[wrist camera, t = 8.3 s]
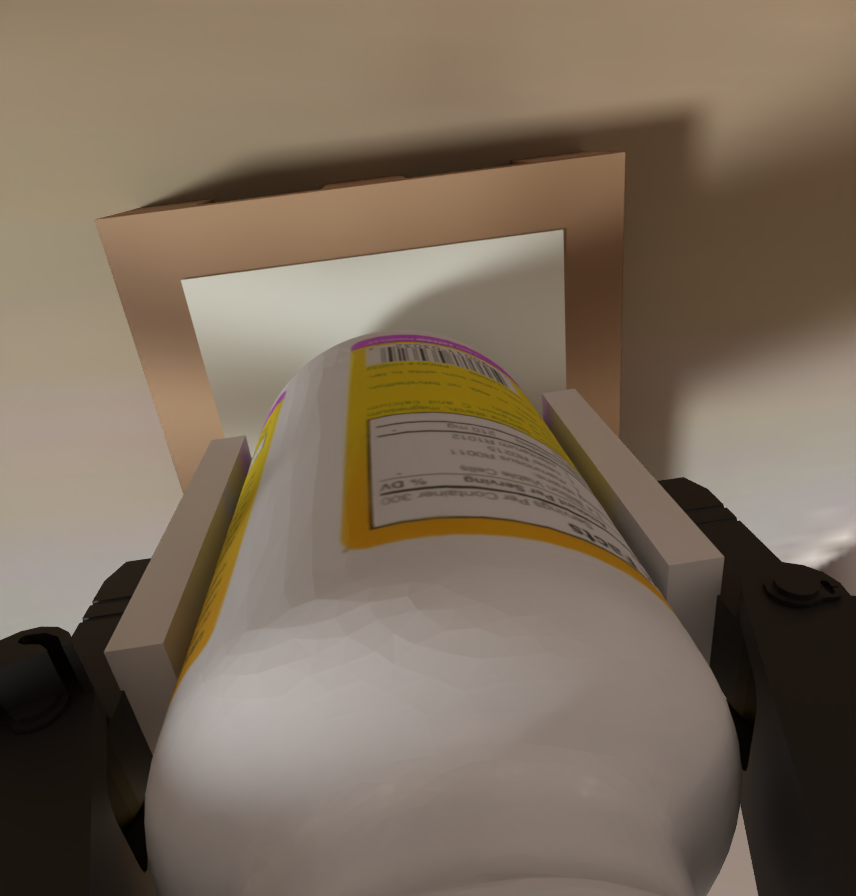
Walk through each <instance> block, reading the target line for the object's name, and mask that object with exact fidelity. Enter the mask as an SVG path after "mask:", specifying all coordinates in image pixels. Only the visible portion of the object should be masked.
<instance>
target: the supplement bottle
mask: <svg viewBox="0 0 856 896" xmlns="http://www.w3.org/2000/svg"><path fill="white" fill-rule="evenodd" d="M741 785H742V773H741V759H740V749H739V741H738V737H737V733H736V729H735V725H734V722H733V719H732V716H731V713H730V710H729V707H728V704H727V701H726V699H725V697H724V695H723V693H722V690H721V688H720V686H719V684H718V682H717V680H716V678H715V676H714V674H713V672H712V670H711V668H710V667H709V665H708V664H707V662H706V660H705V659H704V657H703V655H702V654H701V652H700V651H699V649H698V648H697V646H696V645H695V643H694V642H693V640H692V638H691V637H690V635H689V634H688V632H687V631H686V629H685V628H684V626H683V625H682V623H681V622H680V620H679V619H678V617H677V616H676V614H675V613H674V611H673V609H672V608H671V606H670V605H669V604H668V602H667V601H666V599H665V598H664V597H663V595H662V594H661V592H660V591H659V589H658V588H657V587H656V585H655V584H654V582H653V581H652V580H651V578H650V577H649V575H648V573H647V572H646V570H645V569H644V568H643V566H642V565H641V564H640V562H639V561H638V559H637V558H636V556H635V555H634V553H633V552H632V551H631V549H630V548H629V546H628V545H627V543H626V542H625V540H624V539H623V537H622V536H621V534H620V533H619V531H618V530H617V528H616V527H615V526H614V524H613V523H612V521H611V519H610V518H609V516H608V515H607V513H606V512H605V510H604V509H603V507H602V506H601V504H600V503H599V501H598V500H597V499H596V497H595V496H594V494H593V493H592V491H591V489H590V488H589V486H588V485H587V483H586V482H585V480H584V479H583V478H582V476H581V475H580V473H579V472H578V470H577V469H576V467H575V466H574V464H573V463H572V461H571V460H570V458H569V457H568V456H567V454H566V453H565V451H564V450H563V448H562V447H561V445H560V444H559V442H558V441H557V439H556V438H555V436H554V435H553V433H552V432H551V430H550V429H549V428H548V426H547V425H546V423H545V422H544V420H543V419H542V417H541V416H540V414H539V413H538V412H537V410H536V409H535V407H534V406H533V404H532V403H531V402H530V400H529V399H528V398H527V396H526V395H525V393H524V392H523V391H522V389H521V388H520V387H519V385H518V384H517V383H516V382H515V381H514V380H513V379H512V378H511V377H510V376H509V375H508V374H507V372H506V371H505V370H504V369H503V368H501V367H500V366H499V365H498V364H497V363H496V362H494V361H493V360H492V359H491V358H489V357H488V356H486V355H485V354H483V353H482V352H480V351H479V350H477V349H475V348H473V347H471V346H470V345H468V344H466V343H463V342H461V341H459V340H456V339H453V338H450V337H447V336H444V335H440V334H436V333H431V332H424V331H414V330H390V331H381V332H375V333H370V334H366V335H362V336H358V337H355V338H352V339H349V340H347V341H344V342H342V343H339V344H337V345H335V346H333V347H331V348H329V349H328V350H326V351H324V352H323V353H321V354H319V355H318V356H316V357H315V358H314V359H312V360H311V361H310V362H308V363H307V364H306V365H305V366H304V367H303V368H301V369H300V370H299V371H298V372H297V373H296V374H295V376H294V377H293V378H292V379H291V380H290V381H289V382H288V383H287V384H286V386H285V387H284V388H283V390H282V391H281V393H280V394H279V396H278V397H277V399H276V401H275V402H274V404H273V406H272V408H271V410H270V413H269V415H268V417H267V419H266V422H265V424H264V426H263V428H262V431H261V434H260V437H259V440H258V443H257V446H256V449H255V452H254V455H253V458H252V461H251V464H250V467H249V470H248V474H247V477H246V480H245V483H244V485H243V488H242V491H241V494H240V497H239V500H238V503H237V506H236V509H235V512H234V515H233V518H232V521H231V523H230V526H229V529H228V532H227V535H226V539H225V542H224V545H223V548H222V550H221V553H220V556H219V559H218V562H217V565H216V568H215V571H214V575H213V578H212V581H211V584H210V587H209V590H208V593H207V595H206V598H205V601H204V604H203V607H202V610H201V613H200V616H199V619H198V622H197V625H196V628H195V631H194V634H193V637H192V640H191V643H190V646H189V649H188V652H187V655H186V658H185V661H184V663H183V666H182V669H181V672H180V675H179V677H178V680H177V683H176V686H175V689H174V691H173V694H172V697H171V700H170V703H169V706H168V709H167V713H166V716H165V719H164V723H163V726H162V729H161V732H160V735H159V738H158V742H157V745H156V748H155V751H154V755H153V758H152V762H151V767H150V772H149V777H148V782H147V788H146V799H145V818H144V825H145V837H146V849H147V854H148V860H149V865H150V870H151V874H152V878H153V882H154V885H155V888H156V890H157V893H158V896H706V895H707V894H708V892H709V890H710V888H711V887H712V885H713V883H714V881H715V880H716V878H717V876H718V874H719V872H720V870H721V868H722V865H723V863H724V861H725V859H726V857H727V854H728V852H729V849H730V845H731V842H732V839H733V836H734V832H735V829H736V825H737V819H738V814H739V808H740V798H741Z"/></svg>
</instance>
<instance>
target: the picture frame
mask: <svg viewBox="0 0 856 896" xmlns="http://www.w3.org/2000/svg"><path fill="white" fill-rule="evenodd" d="M624 192H625V152H576V153H569V154H561V155H553V156H545V157H537V158H529V159H522V160H514V161H511V165H506V166H499V167H491V168H483V169H475V170H467V171H459V172H452V173H444V174H436V175H428V176H420V177H412V178H405V177H403V176H402V175H396V176H388V177H380V178H372V179H364V180H357V181H349V182H341V183H333V184H326V185H325V186H324V187H323V188H322V189H318V190H311V191H303V192H295V193H287V194H279V195H271V196H264V197H256V198H248V199H240V200H232V201H224V202H216V203H215V202H214V199H207V200H200V201H192V202H184V203H176V204H168V205H160V206H152V207H145V208H137V209H134V210H130V211H126V212H122V213H119V214H115V215H111V216H107V217H104V218H100V219H96V220H95V222H96V226H97V229H98V232H99V235H100V238H101V241H102V244H103V247H104V250H105V253H106V256H107V259H108V263H109V266H110V269H111V272H112V275H113V278H114V281H115V284H116V287H117V290H118V293H119V296H120V300H121V303H122V306H123V309H124V312H125V315H126V318H127V321H128V324H129V327H130V330H131V333H132V337H133V340H134V343H135V346H136V349H137V352H138V355H139V358H140V361H141V364H142V367H143V370H144V374H145V377H146V380H147V383H148V386H149V389H150V392H151V395H152V398H153V401H154V404H155V408H156V411H157V414H158V417H159V420H160V423H161V426H162V429H163V432H164V435H165V438H166V441H167V445H168V448H169V451H170V454H171V457H172V460H173V463H174V466H175V469H176V472H177V475H178V478H179V482H180V485H181V488H182V491H183V494H184V493H185V491H186V489H187V487H188V485H189V483H190V481H191V479H192V477H193V475H194V473H195V472H196V470H197V468H198V466H199V464H200V462H201V460H202V458H203V456H204V454H205V452H206V450H207V448H208V446H209V444H210V442H211V440H216V439H223V438H230V437H237V436H244V435H246V438H247V442H248V446H249V450H250V454H251V457H252V458H253V455H254V452H255V449H256V446H257V443H258V440H259V437H260V434H261V431H262V428H263V426H264V424H265V422H266V419H267V417H268V415H269V413H270V410H271V408H272V406H273V404H274V402H275V401H276V399H277V397H278V396H279V394H280V393H281V391H282V390H283V388H284V387H285V386H286V384H287V383H288V382H289V381H290V380H291V379H292V378H293V377H294V376H295V374H296V373H297V372H298V371H299V370H300V369H301V368H303V367H304V366H305V365H306V364H307V363H308V362H310V361H311V360H312V359H314V358H315V357H316V356H318V355H319V354H321V353H323V352H324V351H326V350H328V349H329V348H331V347H333V346H335V345H337V344H339V343H342V342H344V341H347V340H349V339H352V338H355V337H358V336H362V335H366V334H370V333H375V332H381V331H390V330H414V331H424V332H431V333H436V334H440V335H444V336H447V337H450V338H453V339H456V340H459V341H461V342H463V343H466V344H468V345H470V346H471V347H473V348H475V349H477V350H479V351H480V352H482V353H483V354H485V355H486V356H488V357H489V358H491V359H492V360H493V361H494V362H496V363H497V364H498V365H499V366H500V367H501V368H503V369H504V370H505V371H506V372H507V374H508V375H509V376H510V377H511V378H512V379H513V380H514V381H515V382H516V383H517V384H518V385H519V387H520V388H521V389H522V391H523V392H524V393H525V395H526V396H527V398H528V399H529V400H530V402H531V403H532V404H533V406H534V407H535V409H536V410H537V412H538V413H539V414H540V416H541V417H542V419H543V412H542V393H547V392H554V391H561V390H568V389H576V391H577V392H578V393H579V394H580V395H581V396H582V397H583V398H584V400H585V401H586V402H587V403H588V404H589V405H590V406H591V407H592V409H593V410H594V411H595V412H596V413H597V414H598V415H599V416H600V418H601V419H602V420H603V421H604V422H605V423H606V424H607V425H608V427H609V428H610V429H611V430H612V431H613V432H614V433H615V434H616V436H617V437H618V438H619V431H620V383H621V336H622V288H623V240H624Z"/></svg>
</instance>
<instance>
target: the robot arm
mask: <svg viewBox="0 0 856 896" xmlns="http://www.w3.org/2000/svg"><path fill="white" fill-rule="evenodd" d="M542 412H543V420H544V422H545V423H546V425H547V426H548V428H549V429H550V430H551V432H552V433H553V435H554V436H555V438H556V439H557V441H558V442H559V444H560V445H561V447H562V448H563V450H564V451H565V453H566V454H567V456H568V457H569V458H570V460H571V461H572V463H573V464H574V466H575V467H576V469H577V470H578V472H579V473H580V475H581V476H582V478H583V479H584V480H585V482H586V483H587V485H588V486H589V488H590V489H591V491H592V493H593V494H594V496H595V497H596V499H597V500H598V501H599V503H600V504H601V506H602V507H603V509H604V510H605V512H606V513H607V515H608V516H609V518H610V519H611V521H612V523H613V524H614V526H615V527H616V528H617V530H618V531H619V533H620V534H621V536H622V537H623V539H624V540H625V542H626V543H627V545H628V546H629V548H630V549H631V551H632V552H633V553H634V555H635V556H636V558H637V559H638V561H639V562H640V564H641V565H642V566H643V568H644V569H645V570H646V572H647V573H648V575H649V577H650V578H651V580H652V581H653V582H654V584H655V585H656V587H657V588H658V589H659V591H660V592H661V594H662V595H663V597H664V598H665V599H666V601H667V602H668V604H669V605H670V606H671V608H672V609H673V611H674V613H675V614H676V616H677V617H678V619H679V620H680V622H681V623H682V625H683V626H684V628H685V629H686V631H687V632H688V634H689V635H690V637H691V638H692V640H693V642H694V643H695V645H696V646H697V648H698V649H699V651H700V652H701V654H702V655H703V657H704V659H705V660H706V662H707V664H708V665H709V667H710V668H711V670H712V672H713V674H714V676H715V678H716V680H717V682H718V684H719V686H720V688H721V690H722V692H723V693H724V695H725V696H726V698H727V699H726V701H727V704H728V707H729V710H730V713H731V716H732V719H733V722H734V725H735V729H736V733H737V737H738V741H739V749H740V759H741V773H742V785H741V798H740V804H741V810H742V815H743V819H744V825H745V830H746V835H747V840H748V845H749V850H750V854H751V860H752V865H753V870H754V875H755V880H756V885H757V890H758V896H856V596H851V595H850V594H849V593H848V592H847V591H846V590H845V588H844V587H843V586H842V585H841V584H840V583H839V582H838V581H836V580H835V579H833V578H832V577H830V576H828V575H827V574H825V573H824V572H821V571H818V570H815V569H812V568H810V567H807V566H804V565H798V564H791V563H785V562H781V561H780V560H779V559H778V558H777V557H776V556H775V555H774V554H773V553H772V552H771V551H770V550H769V549H768V548H767V547H766V546H765V545H764V544H763V543H762V542H761V541H760V540H759V539H758V538H757V537H756V536H755V535H754V534H753V533H752V532H751V531H750V530H749V529H748V528H747V527H746V526H745V525H744V524H743V523H742V522H741V521H737V517H736V516H735V515H734V514H733V513H732V512H731V511H730V510H729V509H727V508H724V505H723V504H722V503H721V502H720V501H719V500H718V499H717V498H716V497H715V496H714V495H713V494H712V493H711V492H710V491H709V490H708V489H707V488H704V487H702V486H700V485H698V484H696V483H694V482H692V481H690V480H688V479H686V478H684V477H682V478H676V479H669V480H662V481H656V479H655V478H654V477H653V476H652V475H651V474H650V473H649V472H648V470H647V469H646V468H645V467H644V466H643V465H642V464H641V463H640V461H639V460H638V459H637V458H636V457H635V456H634V455H633V454H632V452H631V451H630V450H629V449H628V448H627V447H626V446H625V445H624V443H623V442H622V441H621V440H620V439H619V438H618V437H617V436H616V434H615V433H614V432H613V431H612V430H611V429H610V428H609V427H608V425H607V424H606V423H605V422H604V421H603V420H602V419H601V418H600V416H599V415H598V414H597V413H596V412H595V411H594V410H593V409H592V407H591V406H590V405H589V404H588V403H587V402H586V401H585V400H584V398H583V397H582V396H581V395H580V394H579V393H578V392H577V391H576V389H568V390H561V391H554V392H547V393H542ZM251 461H252V457H251V454H250V450H249V446H248V442H247V438H246V435H244V436H237V437H230V438H223V439H216V440H211V442H210V444H209V446H208V448H207V450H206V452H205V454H204V456H203V458H202V460H201V462H200V464H199V466H198V468H197V470H196V472H195V473H194V475H193V477H192V479H191V481H190V483H189V485H188V487H187V489H186V491H185V493H184V495H183V497H182V499H181V501H180V503H179V505H178V507H177V509H176V511H175V513H174V515H173V517H172V519H171V521H170V523H169V525H168V527H167V529H166V531H165V533H164V535H163V537H162V538H161V540H160V542H159V544H158V546H157V548H156V550H155V552H154V554H153V556H152V558H149V559H143V560H136V561H129V562H126V563H124V564H123V565H122V566H121V567H120V568H119V569H118V570H117V571H115V572H114V573H113V574H112V575H111V576H110V577H109V578H107V579H106V580H105V581H104V583H103V584H102V586H101V588H100V590H99V591H98V593H97V595H96V596H95V598H94V600H93V601H92V602H93V605H91V606H89V608H88V610H87V612H86V613H85V615H84V617H83V618H82V619H83V622H82V623H79V625H78V627H77V629H76V630H75V632H74V634H73V635H72V637H71V635H70V633H69V632H67V631H65V630H63V629H61V628H59V627H38V628H33V629H29V630H25V631H21V632H18V633H16V634H14V635H11V636H9V637H7V638H5V639H2V640H0V896H158V893H157V890H156V888H155V885H154V882H153V878H152V874H151V870H150V865H149V860H148V854H147V849H146V837H145V825H144V818H145V799H146V796H145V793H146V788H147V782H148V777H149V772H150V767H151V762H152V758H153V755H154V751H155V748H156V745H157V742H158V738H159V735H160V732H161V729H162V726H163V723H164V719H165V716H166V713H167V709H168V706H169V703H170V700H171V697H172V694H173V691H174V689H175V686H176V683H177V680H178V677H179V675H180V672H181V669H182V666H183V663H184V661H185V658H186V655H187V652H188V649H189V646H190V643H191V640H192V637H193V634H194V631H195V628H196V625H197V622H198V619H199V616H200V613H201V610H202V607H203V604H204V601H205V598H206V595H207V593H208V590H209V587H210V584H211V581H212V578H213V575H214V571H215V568H216V565H217V562H218V559H219V556H220V553H221V550H222V548H223V545H224V542H225V539H226V535H227V532H228V529H229V526H230V523H231V521H232V518H233V515H234V512H235V509H236V506H237V503H238V500H239V497H240V494H241V491H242V488H243V485H244V483H245V480H246V477H247V474H248V470H249V467H250V464H251Z"/></svg>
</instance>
